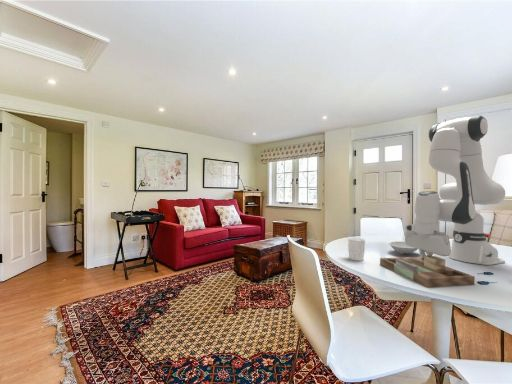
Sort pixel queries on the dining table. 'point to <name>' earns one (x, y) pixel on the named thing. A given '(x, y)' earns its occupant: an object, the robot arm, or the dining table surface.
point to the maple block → (434, 262)
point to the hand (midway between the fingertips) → (425, 261)
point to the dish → (402, 247)
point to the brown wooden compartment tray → (426, 272)
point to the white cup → (356, 248)
